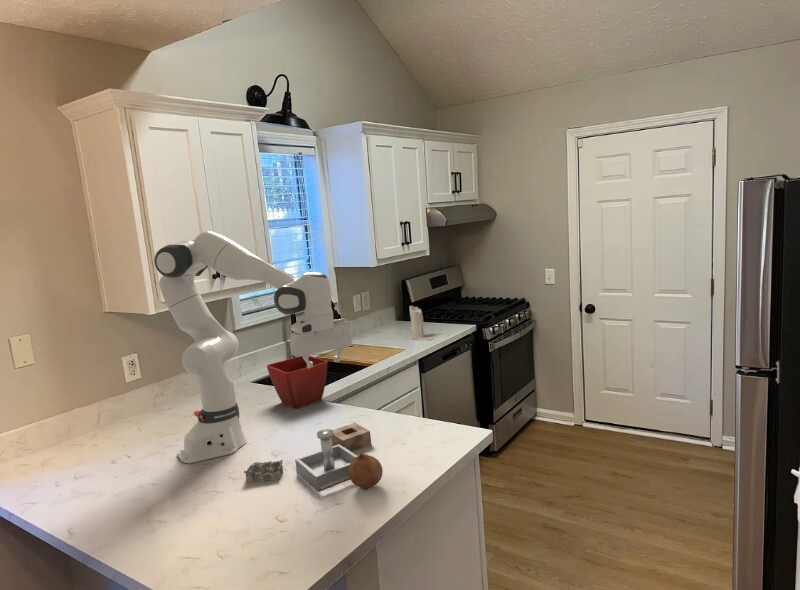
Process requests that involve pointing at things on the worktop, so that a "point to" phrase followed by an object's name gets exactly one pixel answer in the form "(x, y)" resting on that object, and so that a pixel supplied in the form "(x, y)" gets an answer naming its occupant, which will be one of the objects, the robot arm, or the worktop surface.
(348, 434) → the socket block
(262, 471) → the egg carton
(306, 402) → the plant pot
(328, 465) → the steel pin
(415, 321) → the candle
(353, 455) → the grey tray
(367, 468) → the onion
